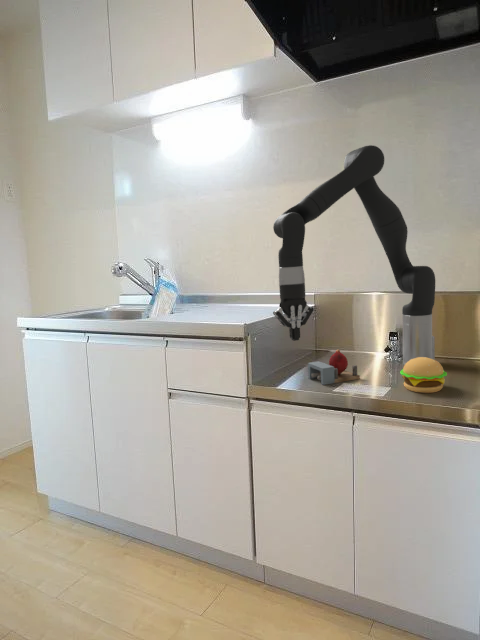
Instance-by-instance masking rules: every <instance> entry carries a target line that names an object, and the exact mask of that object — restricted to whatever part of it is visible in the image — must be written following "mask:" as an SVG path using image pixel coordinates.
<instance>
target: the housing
mask: <svg viewBox="0 0 480 640" xmlns="http://www.w3.org/2000/svg"><path fill="white" fill-rule="evenodd" d="M319 372H321V380H320V384H321V385H322V386H323V385H325V386H326V385H330V384H335V377H334V367H333V366H331V365H329V363H325V362H322V361H319V360H318V361H311V362H307V374H308V375H307V376H308V377H307V378H308V379H309V380H312V379H313V380H314V379H317V377H312V376H311V374H313V373H319Z"/></svg>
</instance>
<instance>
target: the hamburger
mask: <svg viewBox="0 0 480 640" xmlns="http://www.w3.org/2000/svg"><path fill="white" fill-rule="evenodd" d="M399 373H400V375H401V377H402V379H404V382H403V385H404V387H405V389H406V390H408V391H410V392H416V393H424V394H430V393H431V394H432V393H437V392H440V391H441V390H442V389H443V387H444V384H445V383H446V379H445V377H447V375H448V373H447V371H445V370H444V368H443V366H442V364H441V363H440V362H439V361H437V360H436V359H435V360H433V359H430V358H427V357H418V358H414V359H411V360H409V361H408V362H407V363H406V364H405V365H403V368H402V369H401V370H400V371H399Z"/></svg>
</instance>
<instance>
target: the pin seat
mask: <svg viewBox="0 0 480 640" xmlns="http://www.w3.org/2000/svg"><path fill="white" fill-rule="evenodd" d="M351 368H352V372H351V371H348V370H346V369H345V370H344V371H343V372H342V373H341V374H339V375H338V369H337V368H334V377H335V383H337V384H338V383H342V382H348V381H355V380H360V378H361V375H359V374H358V365H355V364H354V365H352V367H351ZM311 376H312V377H317V378H316V379H317V380H318V381H319V380H320V381H321V372H319V373H313V374H311ZM335 383H334V384H335Z"/></svg>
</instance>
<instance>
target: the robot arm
mask: <svg viewBox="0 0 480 640" xmlns="http://www.w3.org/2000/svg"><path fill="white" fill-rule="evenodd" d="M384 165H385V155H384V152H383V150H382V149H381V147H380V148H379V146H376V145H371V144H370V145H364V146H362V147H359V148H356V149H354V150H351V151H349V152H348V153H347V154H346V155H345V158H344V161H343V170H341V171H340V172H339V173H337V174H335V175H334V176H333V177H331V178H329V179H328V180H327V181H324V182H323V183H321V184H320V185H318V186H316V187H315V188H314V189H312V191H310V192H309V193H308V194H306V195H305V196H304V197H303V198H302V199H301V200H300V201H299V202H297V203H296V204H294V205H293V206H291V207H290V208H288V209H287V210H285V211H284V212H282V213H281V214H280V215H278V217H277V218H276V219H275V220H274V223H273V227H272V228H273V233H274V234H275V235H276V236H277V237H278V238H280V239H282V242H281V243H282V244H281V245H282V246H281V248H280V249H279V250H278V256H277V257H278V287H279V299H280V302H279V306H278V308H277V309H276V310H274V311H273V312H272V314H273V316H274V317H275V318H276V320H278V321H279V322H280V324H281V325H282V326H283V327H285V328H288V330H289V338H290V339H291V341H300V338H301V327H302V326H305V325H306V323H307V322H308V320H310V317H311V316H312V314H313V313H314V307H313V306H312V307H311V306H309V304H308V303H307V300H306V283H305V282H306V278H305V270H304V260H303V259H304V257H303V250H304V249H303V247H304V243H305V235H306V224H307V223H310V222H312V221H315V220H316V219H318V218H319V217H320V216H321V215H322V214H324V212H326V211H327V210H328V209H330V207H332V206H334V204H336V202H338V201H339V200H340V199H341V198H343V197H344V196H346V195H347V194H348V193H349V192H350V191H352V190H355V192H356V194H357V195H358V197H359V199H360V200H361V203H362V205H363V207H364V209H365V212H366V213H367V215H368V217H369V220H370V222H371V224H372V226H373V229H374V231H375V234H376V235H377V237H378V239H379V241H380V244H381V246H382V248H383V250H384V252H385V255H386V257H387V259H388V262H389V265H390V267H391V271H392V274H393V276H394V280H395V282H396V284H397V287H398V289H399V290H400V291H402V292H403V293H405V294H411V295H412V297H411V301H410V302H409V303H407V304H405V305H403V306H402V309H401V311H402V365H403V366H405V364H406V363H407V362H408V361H409V360H411V359H414V358H418V357H427V358H430V359H433V360H436V359H435V352H436V351H435V349H436V348H435V336H434V335H433V308H434V307H435V306H434V305H435V303H436V302H435V298H436V275H435V272H434V270H433V269H432V268H431V267H430V266H427V265H413V264H412V262H411V261H410V258H409V255H408V253H407V241H408V233H409V232H408V226H407V223H406V220H405V219H404V216H403V213H402V211H401V209H400V208H399V207H398V205H396V203H395V202H394V201H393V200H392V199H391V198H390V197H389V196H388V195H387V194H386V193H385V192H384V191H382V189H381V188H380V187H379V185H378V183H377V181H376V179H375V176H376V175H378V174H379V173H380V172H381V171H382V170H383V168H384ZM284 315H285V316H286V317H284Z"/></svg>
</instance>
